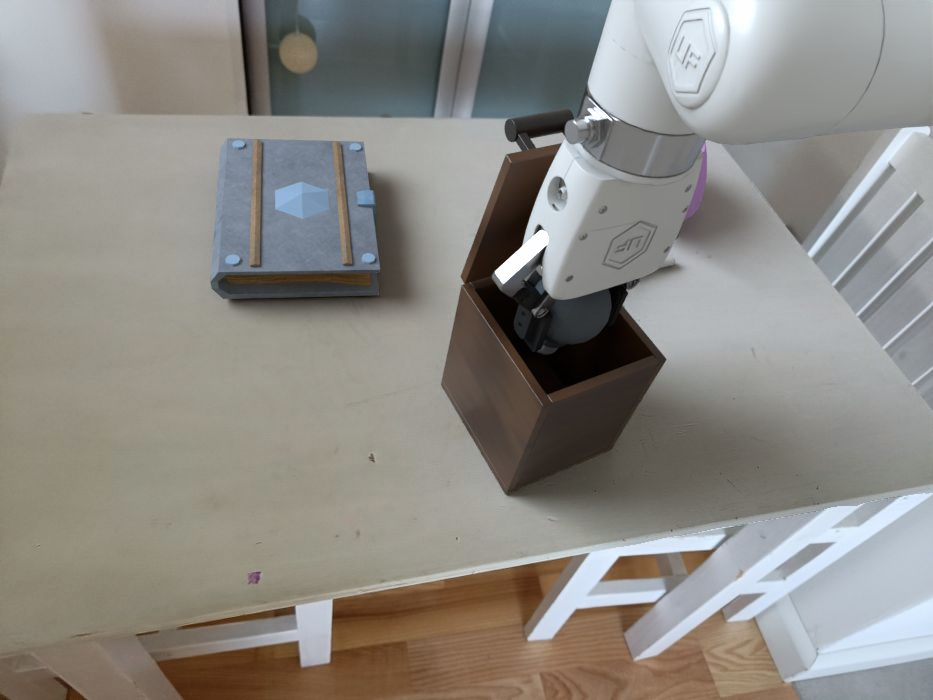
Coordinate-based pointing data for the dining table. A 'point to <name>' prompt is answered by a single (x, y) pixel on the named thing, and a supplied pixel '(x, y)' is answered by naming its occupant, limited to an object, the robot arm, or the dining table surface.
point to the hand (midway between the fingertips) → (563, 324)
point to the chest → (541, 388)
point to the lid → (514, 193)
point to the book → (294, 220)
